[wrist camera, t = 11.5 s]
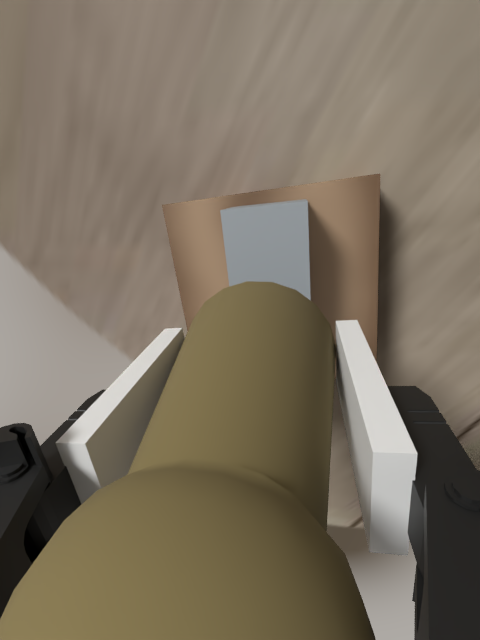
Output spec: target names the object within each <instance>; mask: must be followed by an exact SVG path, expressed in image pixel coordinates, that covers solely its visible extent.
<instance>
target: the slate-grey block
mask: <svg viewBox="0 0 480 640" xmlns="http://www.w3.org/2000/svg"><path fill="white" fill-rule="evenodd" d="M220 213H221V221H222V230H223V238H224V246H225V255H226V263H227V271H228V279H229V287H230V286H233V285H236V284H240V283H243V282H246V281H254V282H274V283H277V284H280V285H283V286H286V287H289V288H292V289H295V290H297V291H298V292H300V293H301V294H302V295H304V296H305V297H306V298H308V299H309V300H311V297H310V262H309V227H308V201H307V200H306V199H302V200H293V201H284V202H274V203H265V204H256V205H246V206H237V207H231V208H227V209H223V210H220Z"/></svg>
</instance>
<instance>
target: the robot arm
mask: <svg viewBox="0 0 480 640" xmlns="http://www.w3.org/2000/svg"><path fill="white" fill-rule="evenodd" d="M184 340H185V339H184V334H183V329H182V328H170V329H164V330H163V331H162V332H161V333H160V334H159V335H158V337H157V338H156V339H155V340H154V341H153V342H152V343H151V344H150V345H149V346H148V347H147V348H146V349H145V350H144V351H143V352H142V353H141V354H140V355H139V356H138V357H137V358H136V359H135V360H134V361H133V363H132V364H131V365H130V366H129V367H128V368H127V369H126V370H125V371H124V372H123V373H122V374H121V375H120V376H119V377H118V378H117V379H116V380H115V381H114V382H113V383H112V384H111V386H109V388H108V389H107V390H102V391H100V392H98V393H97V394H95V395H93V396H92V397H90V398H88V399H87V400H86V401H85V402H84V403H83V404H82V405H81V406H80V407H79V408H78V409H77V411H75V412H74V413H73V414H72V415H71V416H70V417H69V419H68V420H66V421H65V422H64V423H63V424H62V425H61V426H60V427H59V428H58V429H57V430H56V431H55V432H54V433H53V434H52V435H51V436H50V437H49V438H48V439H47V440H46V441H45V442H44V443H43V444H42V445H41V446H40V445H39V443H38V440H37V438H36V436H35V433H34V431H33V429H32V426H31V425H29V424H26V423H18V424H12V425H8V426H4V427H1V428H0V618H1V616H2V614H3V612H4V610H5V608H6V606H7V604H8V601H9V599H10V597H11V595H12V593H13V591H14V589H15V588H16V586H17V585H18V584H19V582H20V581H21V579H22V578H23V576H24V575H25V574H26V572H27V571H28V569H29V568H30V567H31V565H32V564H33V562H34V561H35V560H36V558H37V557H38V556H39V554H40V553H41V551H42V550H43V549H44V547H45V546H46V545H47V543H48V542H49V540H50V539H51V538H52V536H53V535H54V534H55V532H56V531H57V529H58V528H59V527H60V525H61V524H62V523H63V521H64V520H65V519H66V518H67V517H68V516H70V515H71V514H72V513H73V512H74V511H75V510H76V509H77V508H78V507H79V506H80V505H81V504H83V503H84V502H85V501H86V500H87V499H88V498H89V497H90V496H91V495H92V494H93V493H95V492H96V491H97V490H99V489H101V488H103V487H105V486H107V485H109V484H111V483H112V482H114V481H116V480H118V479H120V478H122V477H124V476H126V475H127V474H128V472H129V469H130V467H131V465H132V462H133V460H134V458H135V455H136V453H137V450H138V448H139V446H140V443H141V441H142V439H143V436H144V434H145V432H146V429H147V427H148V425H149V422H150V420H151V417H152V415H153V413H154V410H155V408H156V406H157V403H158V401H159V399H160V396H161V394H162V391H163V389H164V387H165V384H166V382H167V380H168V377H169V375H170V373H171V370H172V368H173V365H174V363H175V361H176V358H177V356H178V354H179V351H180V349H181V347H182V344H183V342H184ZM336 384H337V389H338V394H339V399H340V405H341V410H342V415H343V420H344V425H345V430H346V435H347V440H348V445H349V450H350V456H351V461H352V466H353V471H354V476H355V481H356V486H357V491H358V496H359V502H360V507H361V512H362V517H363V522H364V527H365V532H366V537H367V542H368V548H369V552H374V553H385V554H397V555H408V546H409V539H410V542H411V545H412V549H413V552H414V555H415V558H416V561H417V565H416V574H415V583H414V592H413V600H412V601H414V602H415V640H480V471H478V470H477V469H476V468H475V466H474V465H473V463H472V462H471V460H470V458H469V457H468V455H467V454H466V452H465V451H464V449H463V447H462V446H461V444H460V443H459V441H458V440H457V438H456V436H455V435H454V433H453V432H452V430H451V429H450V427H449V425H448V424H446V421H445V419H444V418H443V416H442V414H441V413H439V410H438V408H437V407H436V405H435V404H434V402H433V400H432V399H431V397H430V396H428V395H427V394H425V393H424V392H423V391H421V390H420V389H419V388H417V387H416V386H387V385H386V383H385V380H384V378H383V376H382V374H381V372H380V369H379V367H378V365H377V363H376V361H375V358H374V356H373V354H372V352H371V350H370V347H369V345H368V343H367V341H366V338H365V336H364V334H363V332H362V330H361V327H360V325H359V323H358V321H357V320H342V321H336Z"/></svg>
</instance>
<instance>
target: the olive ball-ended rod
mask: <svg viewBox="0 0 480 640" xmlns="http://www.w3.org/2000/svg"><path fill="white" fill-rule="evenodd" d="M335 360H336V344H335V340H334V336H333V333H332V329H331V325H330V323H329V322H328V320H327V319H326V318H325V316H324V315H323V313H322V312H321V311H320V309H319V308H318V306H317V305H316V304H315V303H313V302H312V301H311V300H309V299H308V298H306V297H305V296H304V295H302V294H301V293H300V292H298V291H297V290H295V289H292V288H289V287H286V286H283V285H280V284H277V283H274V282H254V281H246V282H243V283H240V284H236V285H233V286H230V287H226V288H223V289H222V290H221V291H219V292H218V293H216V294H215V295H214V296H212V297H211V298H209V299H208V300H207V301H205V303H204V304H203V306H202V307H201V308H200V310H199V311H198V313H197V314H196V316H195V317H194V319H193V321H192V323H191V325H190V328H189V330H188V332H187V335H186V337H185V340H184V342H183V344H182V347H181V349H180V351H179V354H178V356H177V358H176V361H175V363H174V365H173V368H172V370H171V373H170V375H169V377H168V380H167V382H166V384H165V387H164V389H163V391H162V394H161V396H160V399H159V401H158V403H157V406H156V408H155V410H154V413H153V415H152V417H151V420H150V422H149V425H148V427H147V429H146V432H145V434H144V436H143V439H142V441H141V443H140V446H139V448H138V450H137V453H136V455H135V458H134V460H133V462H132V465H131V467H130V469H129V472H128V474H127V475H126V476H124V477H122V478H120V479H118V480H116V481H114V482H112V483H111V484H109V485H107V486H105V487H103V488H101V489H99V490H97V491H96V492H95V493H93V494H92V495H91V496H90V497H89V498H88V499H87V500H86V501H85V502H84V503H83V504H81V505H80V506H79V507H78V508H77V509H76V510H75V511H74V512H73V513H72V514H71V515H70V516H68V517H67V518H66V519H65V520H64V521H63V523H62V524H61V525H60V527H59V528H58V529H57V531H56V532H55V534H54V535H53V536H52V538H51V539H50V540H49V542H48V543H47V545H46V546H45V547H44V549H43V550H42V551H41V553H40V554H39V556H38V557H37V558H36V560H35V561H34V562H33V564H32V565H31V567H30V568H29V569H28V571H27V572H26V574H25V575H24V576H23V578H22V579H21V581H20V582H19V584H18V585H17V586H16V588H15V589H14V591H13V593H12V595H11V597H10V599H9V601H8V604H7V606H6V608H5V610H4V612H3V614H2V616H1V618H0V640H375V636H374V633H373V630H372V627H371V624H370V621H369V618H368V615H367V612H366V609H365V606H364V603H363V600H362V598H361V595H360V592H359V590H358V587H357V584H356V582H355V579H354V576H353V574H352V571H351V568H350V566H349V563H348V561H347V558H346V555H345V553H344V552H343V551H342V550H341V549H340V548H339V546H338V545H337V544H336V543H335V542H334V540H333V539H332V538H331V537H330V536H329V535H328V534H327V532H326V530H327V512H328V493H329V474H330V455H331V436H332V417H333V398H334V379H335Z"/></svg>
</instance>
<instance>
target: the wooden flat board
mask: <svg viewBox="0 0 480 640" xmlns="http://www.w3.org/2000/svg"><path fill="white" fill-rule="evenodd" d="M302 199H306V200H307V201H308V227H309V262H310V297H311V301H312V302H313V303H315V304H316V305H317V306H318V308H319V309H320V311H321V312H322V313H323V315H324V316H325V318H326V319H327V320H328V322H329V323H330V325H331V329H332V333H333V336H334V340H335V344H336V321H342V320H357V321H358V323H359V325H360V327H361V330H362V332H363V334H364V336H365V338H366V341H367V343H368V345H369V347H370V350H371V352H372V354H373V356H374V358H375V361H376V363H377V315H378V263H379V210H380V174H374V175H367V176H360V177H353V178H346V179H339V180H333V181H326V182H319V183H312V184H305V185H298V186H291V187H284V188H277V189H270V190H263V191H256V192H249V193H242V194H235V195H228V196H221V197H214V198H207V199H200V200H193V201H186V202H179V203H172V204H166V205H162V207H163V212H164V217H165V222H166V227H167V232H168V237H169V242H170V247H171V252H172V257H173V261H174V266H175V271H176V276H177V281H178V286H179V291H180V296H181V301H182V306H183V311H184V315H185V320H186V325H187V330H189V328H190V325H191V323H192V321H193V319H194V317H195V316H196V314H197V313H198V311H199V310H200V308H201V307H202V306H203V304H204V303H205V301H207V300H208V299H209V298H211V297H212V296H214V295H215V294H216V293H218V292H219V291H221V290H222V289H223V288H226V287H229V279H228V271H227V263H226V255H225V246H224V238H223V230H222V221H221V213H220V210H223V209H227V208H231V207H237V206H246V205H256V204H265V203H274V202H284V201H293V200H302ZM335 378H336V360H335Z"/></svg>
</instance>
